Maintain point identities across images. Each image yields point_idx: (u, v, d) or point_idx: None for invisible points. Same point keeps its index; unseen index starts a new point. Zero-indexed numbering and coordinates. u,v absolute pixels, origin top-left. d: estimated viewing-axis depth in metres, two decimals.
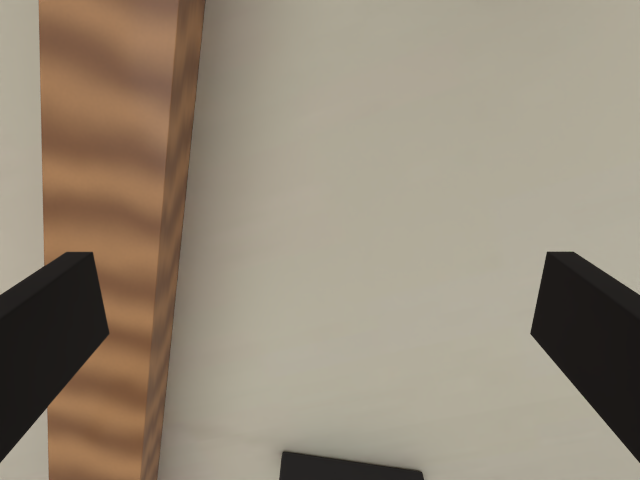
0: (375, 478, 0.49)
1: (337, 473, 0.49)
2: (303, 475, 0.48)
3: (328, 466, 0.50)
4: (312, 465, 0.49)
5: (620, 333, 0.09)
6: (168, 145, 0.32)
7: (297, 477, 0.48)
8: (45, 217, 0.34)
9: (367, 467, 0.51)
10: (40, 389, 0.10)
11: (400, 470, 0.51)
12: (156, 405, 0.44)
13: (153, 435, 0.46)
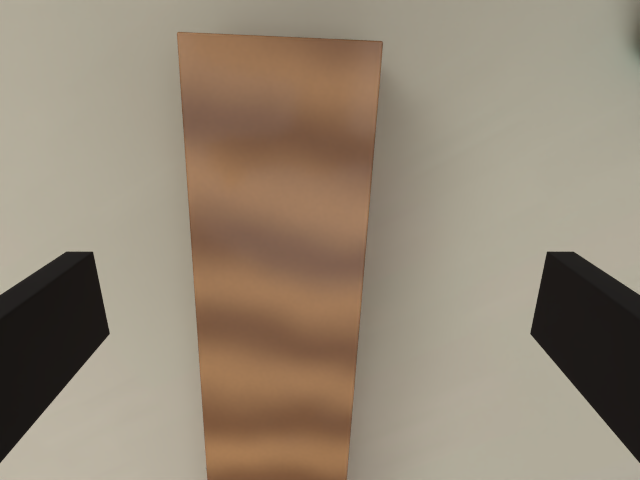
0: None
1: None
2: None
3: None
4: None
5: (620, 333, 0.09)
6: (352, 404, 0.26)
7: None
8: None
9: None
10: (40, 389, 0.10)
11: None
12: None
13: None
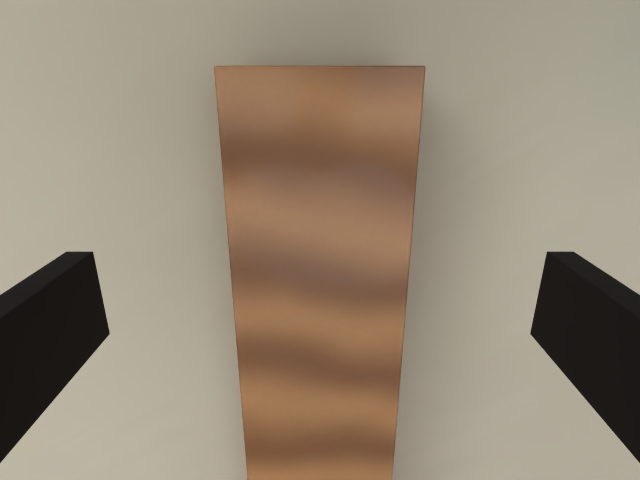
0: None
1: None
2: None
3: None
4: None
5: (620, 333, 0.09)
6: (395, 428, 0.26)
7: None
8: None
9: None
10: (40, 389, 0.10)
11: None
12: None
13: None
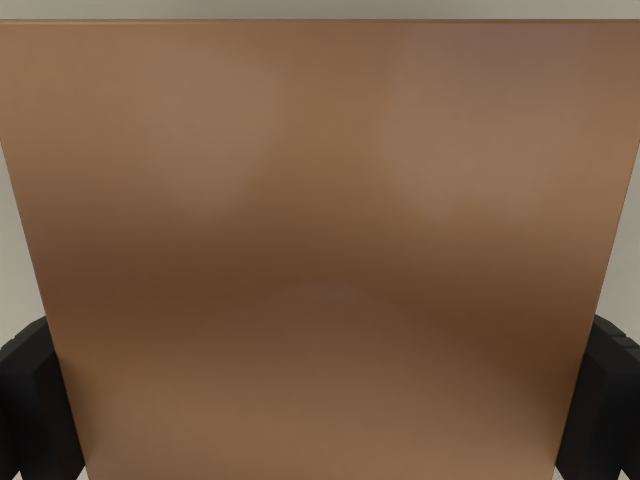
0: None
1: None
2: None
3: None
4: None
5: None
6: None
7: None
8: None
9: None
10: None
11: None
12: None
13: None
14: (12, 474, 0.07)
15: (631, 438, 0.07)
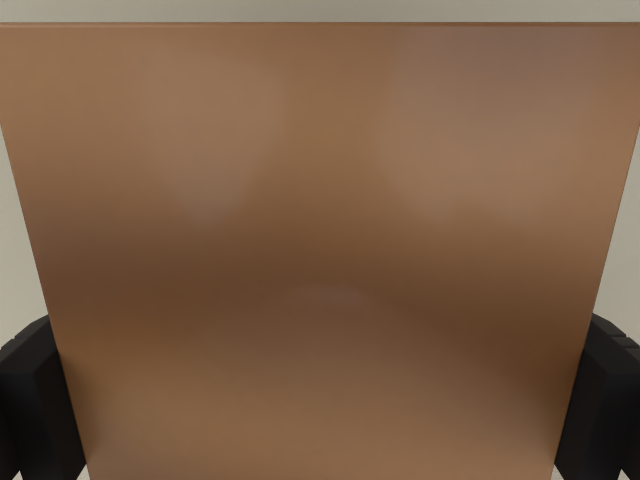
0: None
1: None
2: None
3: None
4: None
5: None
6: None
7: None
8: None
9: None
10: None
11: None
12: None
13: None
14: (12, 475, 0.07)
15: (630, 438, 0.07)
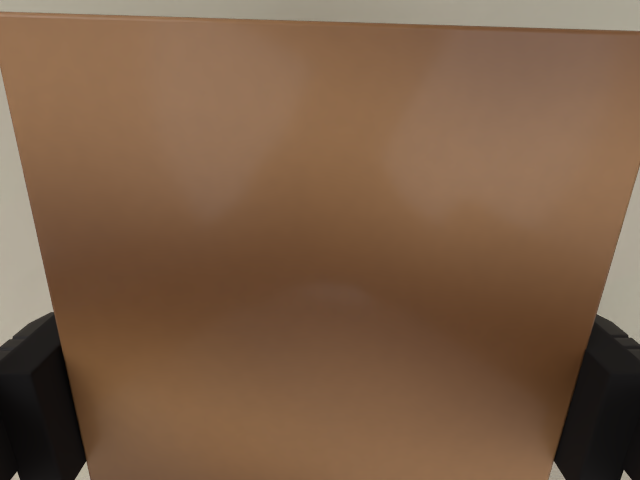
0: None
1: None
2: None
3: None
4: None
5: None
6: None
7: None
8: None
9: None
10: None
11: None
12: None
13: None
14: (9, 475, 0.07)
15: (633, 439, 0.07)
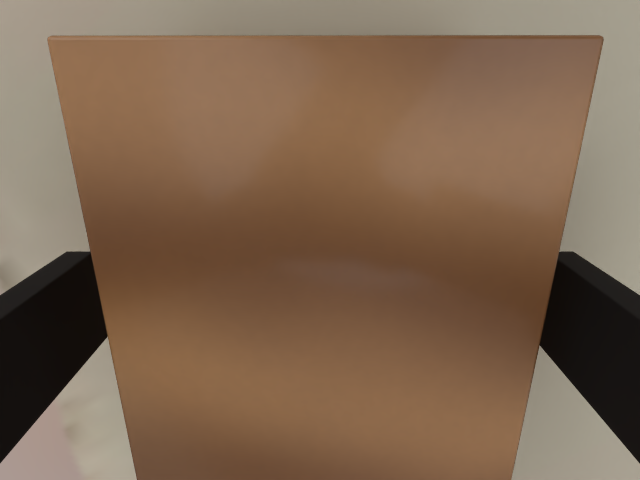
0: None
1: None
2: None
3: None
4: None
5: (619, 333, 0.09)
6: None
7: None
8: None
9: None
10: (41, 389, 0.10)
11: None
12: None
13: None
14: None
15: None
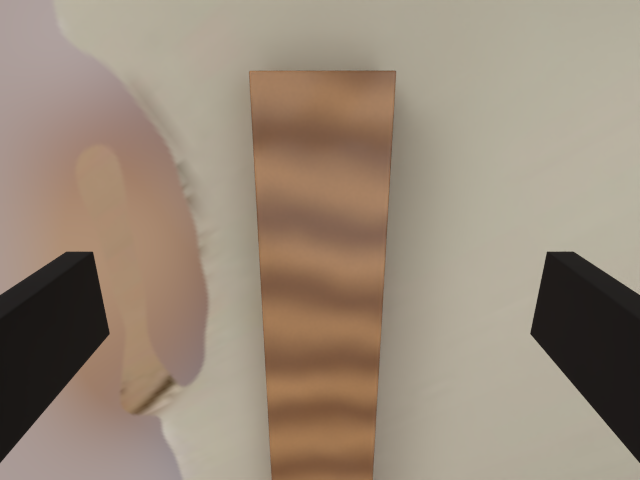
0: None
1: None
2: None
3: None
4: None
5: (620, 333, 0.09)
6: (379, 346, 0.34)
7: None
8: (270, 423, 0.37)
9: None
10: (40, 389, 0.10)
11: None
12: None
13: None
14: None
15: None
